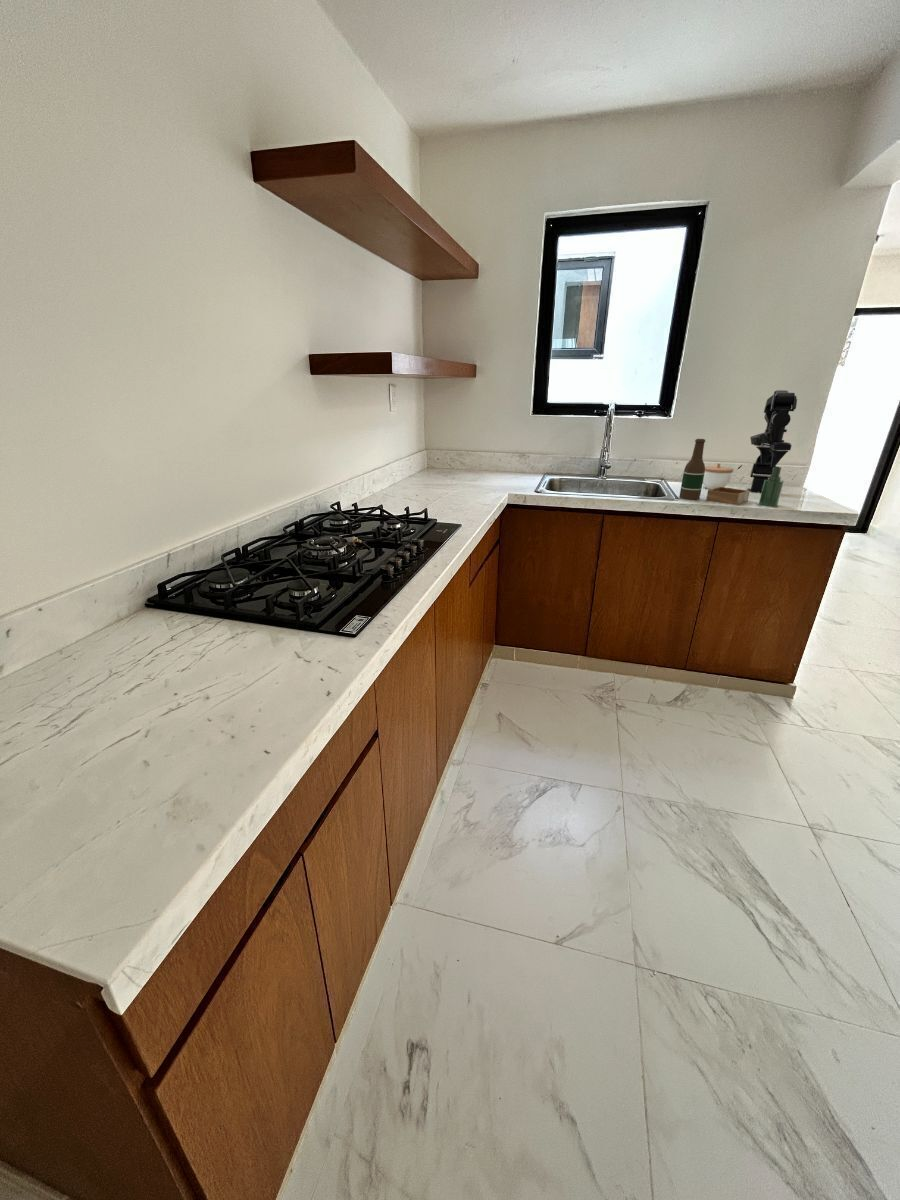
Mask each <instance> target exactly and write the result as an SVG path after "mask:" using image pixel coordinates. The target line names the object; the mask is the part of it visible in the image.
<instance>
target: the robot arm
mask: <svg viewBox="0 0 900 1200" xmlns="http://www.w3.org/2000/svg"><path fill="white" fill-rule="evenodd" d="M797 405H798V398H797V395H796V393H795V392H789V390H783V389H781V390H780V389H779V390H778V389H777V390H774V392H773V393H772V395H771V396H770V397H768V398H767V399H766V402H765V405H764V409H763V413H764V420H765V422H766V427H765V430H764V432H762V433H758V434H755V435H751V436H750V438H749V439H750V444H751V445H752V446H755V448H756V449H757V450H759V453H760V454H759V455H758V456H757V458H756V460H755V461H754V463H753V464H752V468H751V469H750V474H749V477H750V478H752V482H751V486H750V488H747V490H748V491H750V492H752V493H761V492H762V488H763V484H764V480H765V479H769V476H771V475H772V471H773V467H777V465H778V464H779V462H780V461H781V460H782V458H783V457H784V456H785V455H786V454H787V453H789V451H791V450H792V445H793V444H792V443H790V442H787V441H785V440H784V434H785V433H787V432H788V429H786V427H787V426H788V425H789V424H790V422H791V419H792V418H791V415H790V414H789V413H790V412H794V411H795V410H796V408H797Z"/></svg>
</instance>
